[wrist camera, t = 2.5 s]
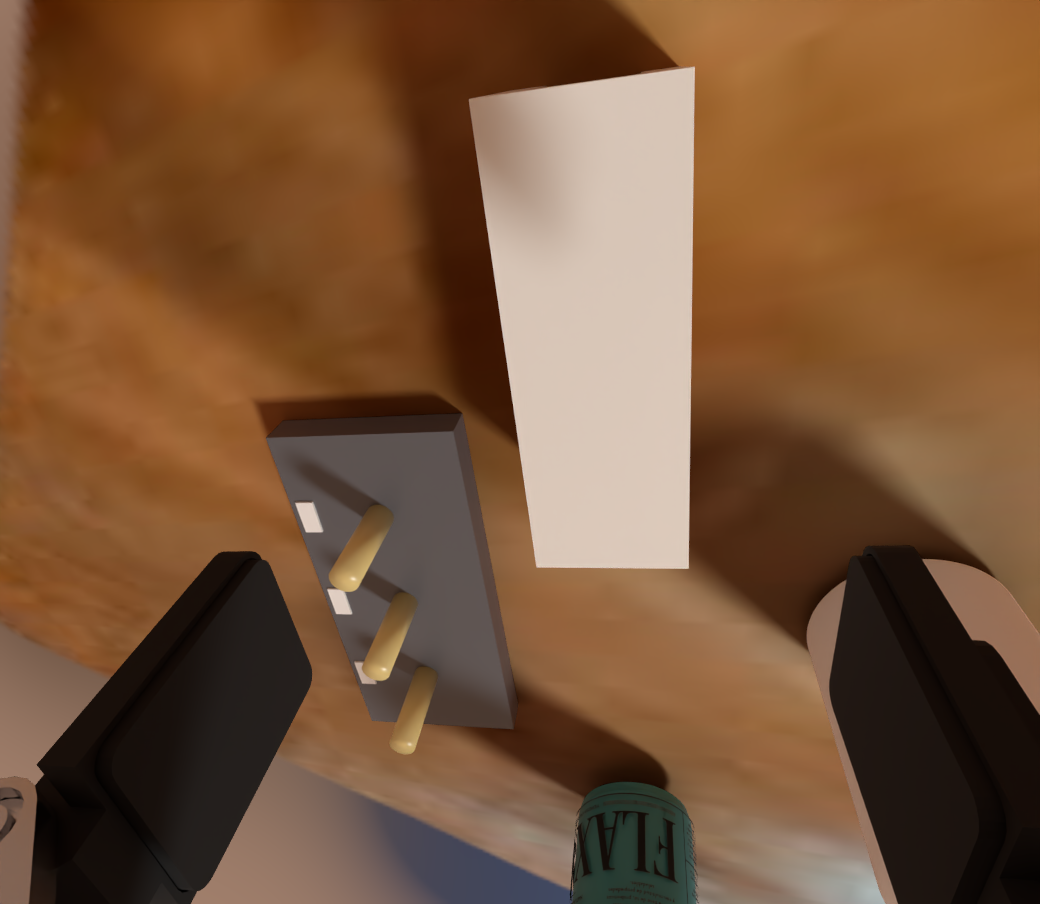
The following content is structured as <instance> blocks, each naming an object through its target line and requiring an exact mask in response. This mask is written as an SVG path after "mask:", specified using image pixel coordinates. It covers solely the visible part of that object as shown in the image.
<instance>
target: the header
mask: <svg viewBox="0 0 1040 904" xmlns="http://www.w3.org/2000/svg"><path fill="white" fill-rule="evenodd" d="M266 440H267V442H268V445H269V448H270V450H271V453H272V456H273V458H274V461H275V464H276V466H277V469H278V472H279V474H280V477H281V480H282V482H283V485H284V488H285V490H286V493H287V496H288V498H289V501H290V504H291V506H292V509H293V512H294V514H295V517H296V520H297V522H298V525H299V527H300V530H301V533H302V535H303V538H304V541H305V543H306V546H307V549H308V551H309V554H310V557H311V559H312V562H313V565H314V567H315V570H316V573H317V575H318V578H319V581H320V583H321V586H322V589H323V591H324V594H325V597H326V599H327V602H328V605H329V607H330V610H331V613H332V615H333V618H334V621H335V623H336V626H337V629H338V631H339V634H340V637H341V639H342V642H343V645H344V647H345V650H346V653H347V655H348V658H349V661H350V663H351V666H352V669H353V671H354V674H355V677H356V679H357V682H358V684H359V687H360V690H361V692H362V695H363V698H364V700H365V703H366V706H367V708H368V711H369V714H370V716H371V719H372V721H385V722H397V723H396V725H395V728H394V731H393V734H392V736H391V739H390V742H389V745H390V747H391V748H392V749H393V750H394V751H396V752H398V753H401V754H411V753H413V752H414V750H415V747H416V744H417V741H418V738H419V735H420V732H421V729H422V726H423V724H435V725H451V726H468V727H484V728H501V729H514V725H515V720H516V715H517V709H518V701H517V696H516V691H515V685H514V680H513V675H512V670H511V665H510V659H509V654H508V649H507V644H506V638H505V633H504V628H503V623H502V618H501V612H500V607H499V602H498V597H497V592H496V586H495V581H494V576H493V571H492V566H491V560H490V555H489V550H488V545H487V539H486V534H485V529H484V524H483V519H482V513H481V508H480V503H479V498H478V493H477V487H476V482H475V477H474V472H473V467H472V461H471V456H470V451H469V446H468V440H467V435H466V430H465V425H464V420H463V414H462V413H458V414H433V415H409V416H384V417H360V418H335V419H311V420H286V421H282V422H281V423H280V424H279V425H278V426H277V427H276V428H275V429H274V430H273V431H272V432H271V433H270V434H269V435H268V436H267V437H266Z"/></svg>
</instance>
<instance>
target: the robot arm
mask: <svg viewBox="0 0 1040 904" xmlns="http://www.w3.org/2000/svg"><path fill="white" fill-rule="evenodd" d="M311 681H312V668H311V665H310V662H309V660H308V658H307V655H306V653H305V650H304V648H303V645H302V643H301V640H300V638H299V635H298V633H297V631H296V628H295V626H294V623H293V621H292V618H291V616H290V613H289V611H288V608H287V606H286V604H285V601H284V599H283V596H282V594H281V591H280V589H279V586H278V584H277V581H276V579H275V577H274V574H273V572H272V569H271V567H270V565H269V563H268V562H267V561H266V560H262V559H261V557H260V555H259V554H257V553H256V552H252V551H240V552H221V553H218V554H217V555H216V556H215V557H214V558H213V559H212V560H211V561H210V563H209V564H208V565H207V566H206V567H205V568H204V570H203V571H202V572H201V573H200V574H199V575H198V577H197V578H196V579H195V580H194V581H193V582H192V584H191V585H190V586H189V587H188V588H187V590H186V591H185V592H184V593H183V594H182V595H181V597H180V598H179V599H178V600H177V601H176V602H175V604H174V605H173V606H172V607H171V608H170V609H169V611H168V612H167V613H166V614H165V615H164V616H163V618H162V619H161V620H160V621H159V622H158V623H157V625H156V626H155V627H154V628H153V629H152V630H151V632H150V633H149V634H148V635H147V636H146V637H145V639H144V640H143V641H142V642H141V643H140V644H139V646H138V647H137V648H136V649H135V650H134V651H133V653H132V654H131V655H130V656H129V657H128V659H127V660H126V661H125V662H124V663H123V664H122V666H121V667H120V668H119V669H118V670H117V671H116V673H115V674H114V675H113V676H112V677H111V678H110V680H109V681H108V682H107V683H106V684H105V685H104V687H103V688H102V689H101V690H100V691H99V693H98V694H97V695H96V696H95V697H94V698H93V699H92V701H91V702H90V703H89V704H88V706H87V707H86V708H85V709H84V710H83V711H82V712H81V713H80V715H79V716H78V717H77V718H76V719H75V720H74V722H73V723H72V724H71V725H70V726H69V728H68V729H67V730H66V731H65V732H64V733H63V735H62V736H61V737H60V738H59V739H58V740H57V742H56V743H55V744H54V745H53V746H52V747H51V749H50V750H49V751H48V752H47V753H46V754H45V756H44V757H43V758H42V759H41V760H40V761H39V763H38V764H37V766H38V767H39V768H40V770H41V771H42V772H43V773H44V775H43V777H42V778H41V779H40V780H39V781H38V783H37V784H36V785H34V784H33V783H31V781H29V780H28V779H27V778H21V777H15V776H14V777H8V778H1V779H0V904H191V902H192V900H193V898H194V896H195V894H196V892H197V891H200V890H201V889H203V888H204V887H205V886H206V885H207V884H208V883H209V881H210V880H211V878H212V877H213V874H214V873H215V871H216V869H217V867H218V865H219V863H220V861H221V859H222V857H223V855H224V853H225V851H226V849H227V847H228V845H229V844H230V842H231V840H232V838H233V836H234V834H235V832H236V830H237V828H238V826H239V824H240V822H241V820H242V818H243V816H244V814H245V812H246V810H247V809H248V806H249V805H250V803H251V801H252V799H253V797H254V795H255V793H256V791H257V789H258V787H259V785H260V783H261V781H262V779H263V777H264V775H265V773H266V771H267V770H268V768H269V766H270V764H271V762H272V760H273V758H274V756H275V754H276V752H277V750H278V748H279V746H280V744H281V742H282V741H283V739H284V737H285V735H286V733H287V731H288V729H289V727H290V725H291V723H292V721H293V719H294V717H295V715H296V713H297V711H298V709H299V707H300V706H301V704H302V702H303V700H304V698H305V696H306V694H307V692H308V690H309V688H310V685H311ZM829 693H830V700H831V704H832V708H833V711H834V714H835V717H836V720H837V723H838V726H839V729H840V732H841V735H842V738H843V741H844V744H845V747H846V750H847V753H848V756H849V759H850V762H851V765H852V768H853V771H854V774H855V777H856V780H857V783H858V786H859V789H860V792H861V795H862V798H863V801H864V804H865V807H866V810H867V813H868V816H869V819H870V822H871V825H872V828H873V831H874V834H875V837H876V840H877V843H878V846H879V849H880V852H881V855H882V858H883V861H884V864H885V867H886V870H887V873H888V876H889V879H890V882H891V885H892V888H893V891H894V894H895V897H896V900H897V903H898V904H1040V715H1039V713H1038V711H1037V710H1036V708H1035V707H1034V705H1033V704H1032V702H1031V701H1030V699H1029V698H1028V696H1027V695H1026V693H1025V692H1024V690H1023V689H1022V687H1021V686H1020V684H1019V683H1018V681H1017V679H1016V678H1015V676H1014V675H1013V673H1012V672H1011V670H1010V669H1009V667H1008V666H1007V664H1006V663H1005V661H1004V660H1003V658H1002V657H1001V655H1000V654H999V653H998V652H997V650H996V649H995V648H994V647H993V646H992V645H991V644H989V643H987V642H986V641H982V640H972V639H971V637H970V636H969V634H968V633H967V631H966V629H965V628H964V626H963V625H962V623H961V621H960V620H959V618H958V617H957V615H956V613H955V612H954V610H953V608H952V607H951V605H950V604H949V602H948V600H947V599H946V597H945V596H944V594H943V592H942V591H941V589H940V588H939V586H938V584H937V583H936V581H935V580H934V578H933V576H932V575H931V573H930V572H929V570H928V568H927V567H926V565H925V564H924V562H923V560H922V559H921V557H920V556H919V554H918V552H917V551H916V550H915V549H914V547H912V546H867V547H866V548H865V549H864V551H863V555H862V556H853V557H852V558H851V559H850V562H849V568H848V573H847V579H846V585H845V591H844V597H843V603H842V609H841V615H840V620H839V626H838V632H837V638H836V644H835V650H834V656H833V662H832V667H831V673H830V679H829Z"/></svg>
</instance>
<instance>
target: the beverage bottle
mask: <svg viewBox="0 0 1040 904" xmlns="http://www.w3.org/2000/svg"><path fill="white" fill-rule="evenodd" d="M579 810H580V813H579V817H578V818H579V819H577V821H576V825H575V826H577V822H578V820H579V823H578V828H577V829H578V836H577V837H576V838H577V849H576V843H575V837H574V853H576V861H575V866H574V857H575V855H574V853H573V863H572V864H573V866H572V878H573V895H572V896H573V902H572V903H571V904H696V899H697V898H696V896H697V897H698V895H697V893H696V892H695V888H696V887H695V882H696V881H697V879H696V881H695V878H696V877H694V876H695V875H694V870H695V869H694V863H695V861H696V860H697V859H696V858H695V857H694V858H695V861H694V859H693V852H694V851H693V847H694V845H696V844H695V843H694V845H692V840H693V839H692V836H693V834H692V831H693V830H691V823H692V821H691V820H690V818H689V816H688V813H687V811H686V808H685V807H684V805H683V804H682V803H681V801H679V800H678V799H677V798H676V797H675V796H673V795H672V794H670V793H669V792H667V791H665V790H663V789H661V788H658V787H655V786H652V785H648V784H643V783H637V782H616V783H610V784H606V785H602V786H600V787H597V788H596V789H594V790H592V791H591V792H590V793H588V795H587V796H586V797H585V799H584V801H583V803H582V806H581V808H580V809H579ZM578 812H579V811H578ZM577 814H578V813H577ZM576 816H577V815H576ZM690 821H691V822H690ZM692 824H693V823H692ZM693 827H694V826H693ZM575 831H576V829H575ZM693 833H694V831H693ZM575 835H577V833H576V832H575ZM693 838H694V836H693ZM693 841H694V840H693ZM695 848H696V847H695ZM695 855H696V854H695ZM695 864H696V863H695ZM695 872H696V870H695ZM696 874H697V873H696ZM697 877H698V876H697ZM572 878H571V891H572ZM696 886H697V883H696ZM697 887H698V886H697ZM698 889H699V888H698ZM571 891H570V898H571ZM697 902H698V900H697ZM698 903H699V902H698ZM699 904H700V903H699Z"/></svg>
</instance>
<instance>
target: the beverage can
mask: <svg viewBox="0 0 1040 904" xmlns="http://www.w3.org/2000/svg"><path fill="white" fill-rule="evenodd" d="M922 560H923V562H924V564H925V565H926V567H927V568H928V570H929V572H930V573H931V575H932V576H933V578H934V580H935V581H936V583H937V584H938V586H939V588H940V589H941V591H942V592H943V594H944V596H945V597H946V599H947V600H948V602H949V604H950V605H951V607H952V608H953V610H954V612H955V613H956V615H957V617H958V618H959V620H960V621H961V623H962V625H963V626H964V628H965V629H966V631H967V633H968V634H969V636H970V637H971V639H972V640H982V641H986V642H987V643H989V644H991V645H992V646H993V647H994V648H995V649H996V650H997V652H998V653H999V654H1000V655H1001V657H1002V658H1003V660H1004V661H1005V663H1006V664H1007V666H1008V667H1009V669H1010V670H1011V672H1012V673H1013V675H1014V676H1015V678H1016V679H1017V681H1018V683H1019V684H1020V686H1021V687H1022V689H1023V690H1024V692H1025V693H1026V695H1027V696H1028V698H1029V699H1030V701H1031V702H1032V704H1033V705H1034V707H1035V708H1036V710H1037V711H1038V713H1039V715H1040V634H1039V633H1038V631H1037V630H1036V629H1035V627H1034V626H1033V624H1032V623H1031V622H1030V620H1029V619H1028V617H1027V616H1026V615H1025V613H1024V612H1023V610H1022V609H1021V607H1020V606H1019V605H1018V603H1017V602H1016V600H1015V599H1014V598H1013V596H1012V595H1011V594H1010V592H1009V591H1008V590H1007V589H1006V588H1005V587H1004V586H1003V585H1002V584H1001V583H1000V582H999V581H998V580H996V579H995V578H993V577H992V576H990V575H989V574H987V573H985V572H983V571H981V570H979V569H976V568H974V567H971V566H968V565H965V564H961V563H957V562H952V561H946V560H936V559H922ZM845 585H846V580H845V581H843V582H842V583H840V584H839V585H837V586H836V587H835V588H833V589H832V590H831V591H830V592H829V593H828V594H827V595H826V596H825V597H824V598H823V599H822V600H821V601H820V602H819V604H818V605H817V607H816V608H815V610H814V611H813V613H812V615H811V618H810V620H809V623H808V627H807V645H808V649H809V653H810V656H811V660H812V663H813V667H814V670H815V673H816V677H817V680H818V684H819V687H820V690H821V694H822V697H823V701H824V704H825V707H826V711H827V714H828V717H829V721H830V724H831V728H832V731H833V734H834V738H835V741H836V745H837V748H838V751H839V755H840V758H841V762H842V765H843V768H844V772H845V775H846V779H847V782H848V785H849V789H850V792H851V796H852V799H853V802H854V806H855V809H856V813H857V816H858V819H859V823H860V826H861V829H862V833H863V836H864V840H865V843H866V846H867V850H868V853H869V857H870V860H871V863H872V867H873V870H874V874H875V877H876V880H877V884H878V887H879V890H880V893H881V895H882V897H883V899H884V901H885V903H886V904H898V903H897V900H896V897H895V894H894V891H893V888H892V885H891V882H890V879H889V876H888V873H887V870H886V867H885V864H884V861H883V858H882V855H881V852H880V849H879V846H878V843H877V840H876V837H875V834H874V831H873V828H872V825H871V822H870V819H869V816H868V813H867V810H866V807H865V804H864V801H863V798H862V795H861V792H860V789H859V786H858V783H857V780H856V777H855V774H854V771H853V768H852V765H851V762H850V759H849V756H848V753H847V750H846V747H845V744H844V741H843V738H842V735H841V732H840V729H839V726H838V723H837V720H836V717H835V714H834V711H833V708H832V704H831V700H830V693H829V679H830V673H831V667H832V662H833V656H834V650H835V644H836V638H837V632H838V626H839V620H840V615H841V609H842V603H843V597H844V591H845Z"/></svg>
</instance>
